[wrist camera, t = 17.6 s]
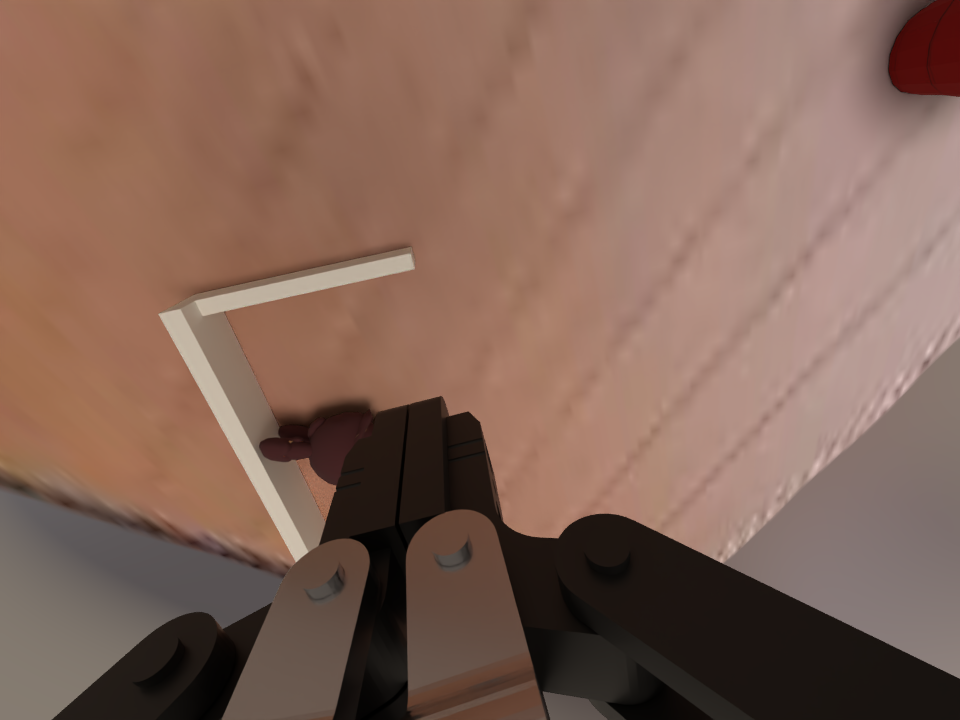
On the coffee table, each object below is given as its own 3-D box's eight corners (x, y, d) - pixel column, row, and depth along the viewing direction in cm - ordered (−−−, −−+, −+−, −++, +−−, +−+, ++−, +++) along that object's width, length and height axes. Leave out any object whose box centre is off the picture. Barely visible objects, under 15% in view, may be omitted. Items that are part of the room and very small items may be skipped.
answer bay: (411, 246, 34) (409, 258, 29) (477, 500, 45) (483, 536, 41) (194, 294, 33) (158, 313, 29) (317, 538, 45) (305, 579, 40)
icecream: (448, 436, 34) (256, 406, 32) (432, 520, 35) (245, 495, 33) (447, 412, 41) (289, 386, 39) (434, 483, 42) (279, 461, 40)
